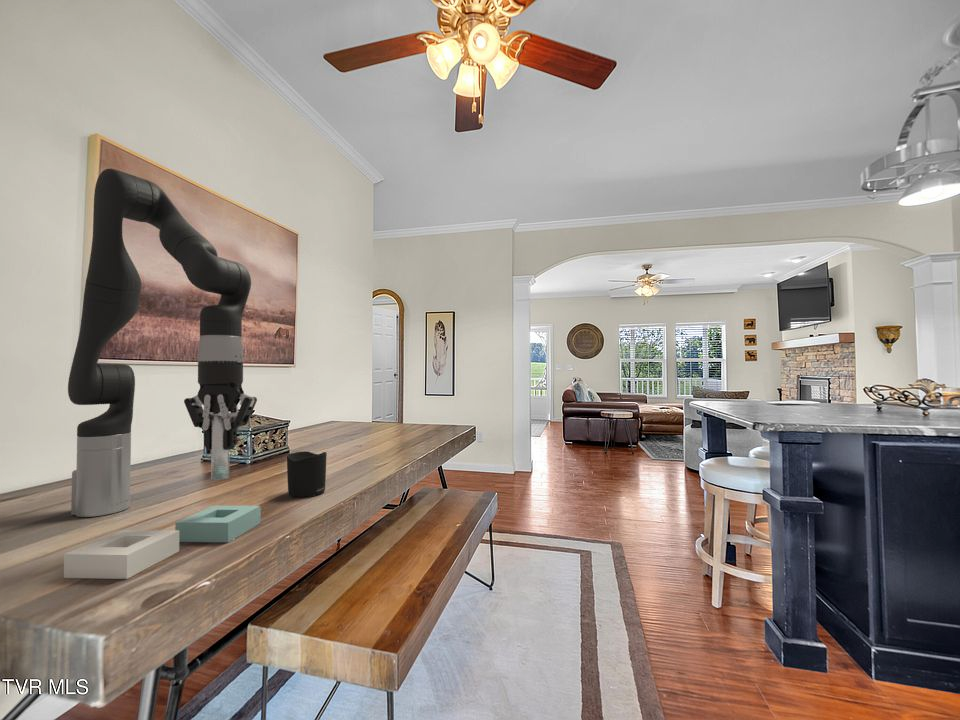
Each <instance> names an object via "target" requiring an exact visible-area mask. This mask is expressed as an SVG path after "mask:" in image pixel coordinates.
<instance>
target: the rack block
mask: <svg viewBox="0 0 960 720" xmlns="http://www.w3.org/2000/svg"><path fill="white" fill-rule="evenodd" d="M261 509H262V508H261V505H212V506H209V507H207V508H204V509H203V510H200V511H198V512H196V513H194V514H191V515H188V516H187V517H184V518H182V519H180V520H177V521H175V522H174V523H175V526H174V527H175V530H179V543H230V542H231V541H233V540H235V539H236V538H238V537H239V536H242V535H243V534H245V533H246V532H248V531H250V530H252V529H253V528H255V527H257V526H258V525H260V524H261V522H262V521H261V519H262V517H261V513H262V511H261Z"/></svg>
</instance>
